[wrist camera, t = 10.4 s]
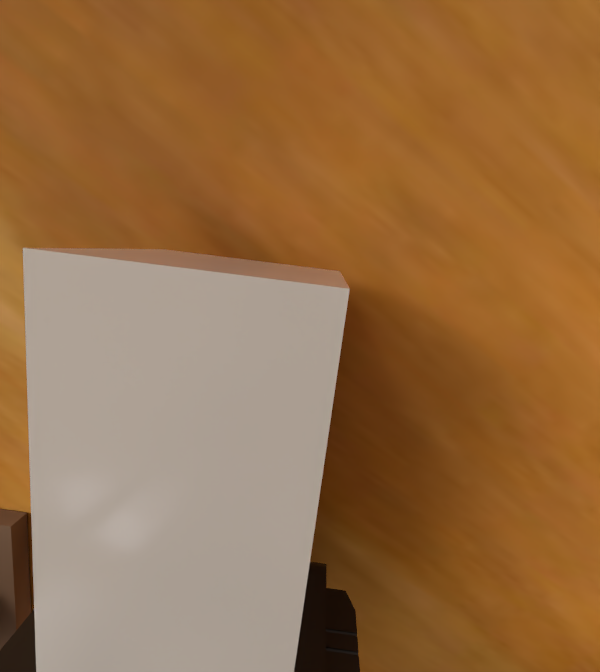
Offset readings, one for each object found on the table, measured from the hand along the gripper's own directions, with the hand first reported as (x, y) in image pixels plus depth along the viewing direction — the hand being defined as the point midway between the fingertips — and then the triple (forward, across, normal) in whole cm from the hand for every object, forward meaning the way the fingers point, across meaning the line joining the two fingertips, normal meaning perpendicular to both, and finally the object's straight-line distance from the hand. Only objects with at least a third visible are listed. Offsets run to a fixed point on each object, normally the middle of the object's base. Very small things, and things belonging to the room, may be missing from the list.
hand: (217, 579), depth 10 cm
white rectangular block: (0, 0, 0) cm, 0 cm away
